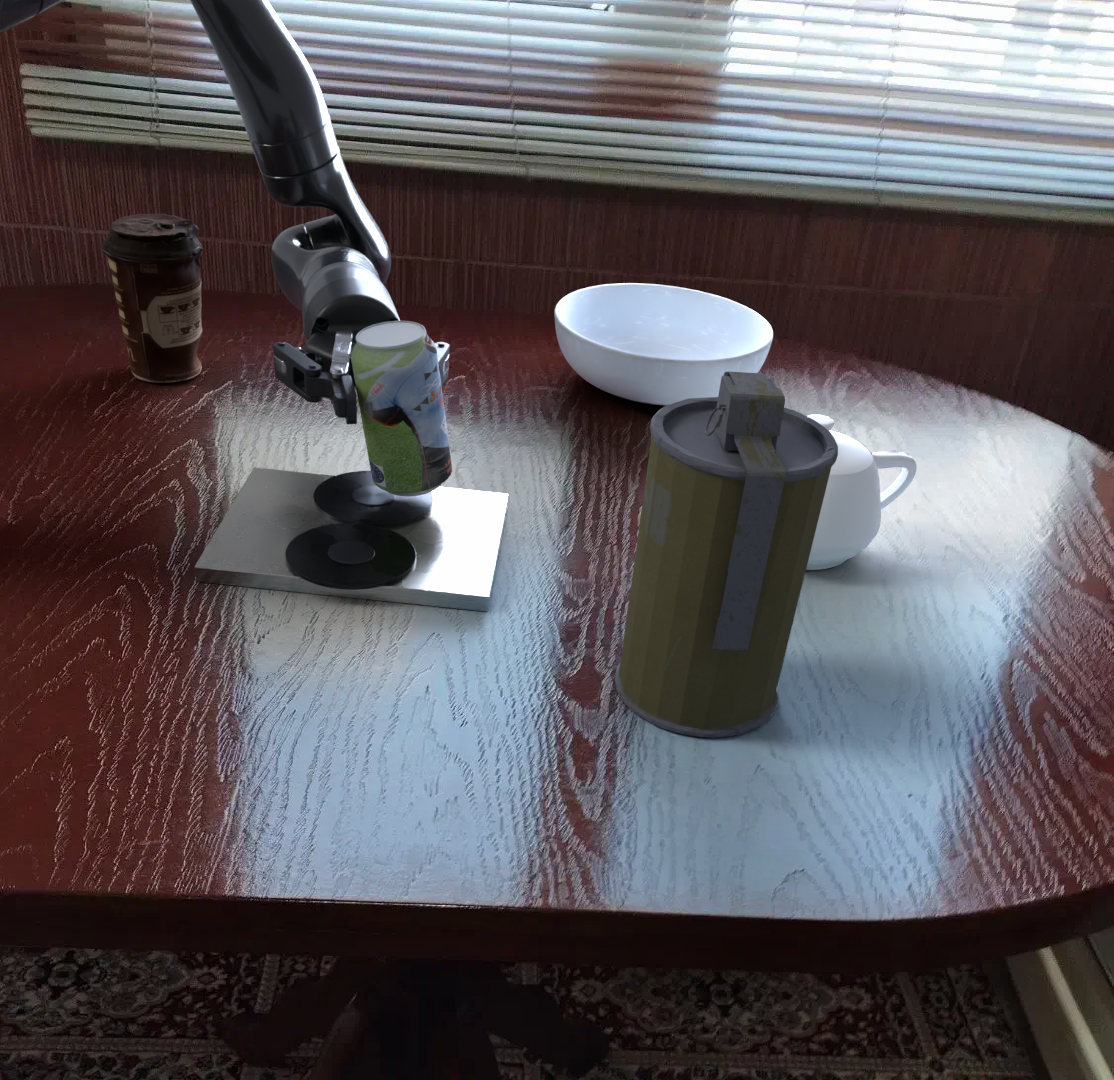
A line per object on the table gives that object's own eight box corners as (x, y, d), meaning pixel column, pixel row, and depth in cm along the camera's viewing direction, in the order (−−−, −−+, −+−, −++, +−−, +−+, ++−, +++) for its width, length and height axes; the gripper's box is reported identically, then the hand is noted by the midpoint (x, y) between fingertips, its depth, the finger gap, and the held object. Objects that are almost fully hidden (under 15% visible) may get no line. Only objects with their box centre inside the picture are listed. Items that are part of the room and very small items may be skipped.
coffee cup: (235, 370, 112) (224, 223, 104) (177, 397, 106) (161, 244, 98) (160, 349, 115) (143, 204, 107) (98, 374, 109) (76, 223, 101)
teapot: (701, 593, 87) (725, 462, 81) (639, 514, 96) (657, 391, 90) (938, 570, 93) (977, 447, 87) (858, 498, 102) (888, 382, 96)
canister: (606, 642, 80) (646, 346, 68) (758, 647, 82) (823, 357, 70) (624, 741, 72) (673, 422, 60) (794, 746, 73) (876, 434, 61)
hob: (191, 589, 81) (188, 568, 80) (258, 475, 96) (256, 456, 95) (486, 619, 81) (488, 599, 80) (509, 501, 96) (510, 483, 95)
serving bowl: (505, 372, 118) (509, 301, 114) (652, 337, 130) (661, 272, 126) (657, 449, 106) (668, 373, 102) (803, 403, 118) (819, 333, 114)
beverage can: (460, 502, 90) (467, 343, 82) (361, 509, 88) (360, 346, 80) (440, 465, 94) (445, 312, 87) (346, 471, 92) (343, 313, 85)
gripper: (258, 275, 93) (272, 359, 80) (439, 277, 97) (480, 358, 84) (264, 369, 98) (278, 463, 85) (436, 368, 101) (475, 459, 88)
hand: (378, 410), depth 84 cm, fingers closed on beverage can, 3 cm apart
